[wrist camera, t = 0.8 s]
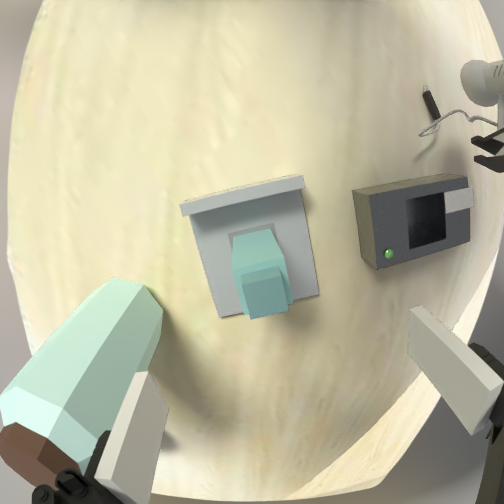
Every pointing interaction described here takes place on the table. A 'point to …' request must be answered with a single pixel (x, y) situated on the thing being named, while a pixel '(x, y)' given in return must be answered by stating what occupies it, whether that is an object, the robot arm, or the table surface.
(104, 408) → the water bottle
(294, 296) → the grey lipped plate
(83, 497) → the robot arm
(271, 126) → the table surface
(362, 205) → the port
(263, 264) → the plug
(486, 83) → the clip-on lamp
